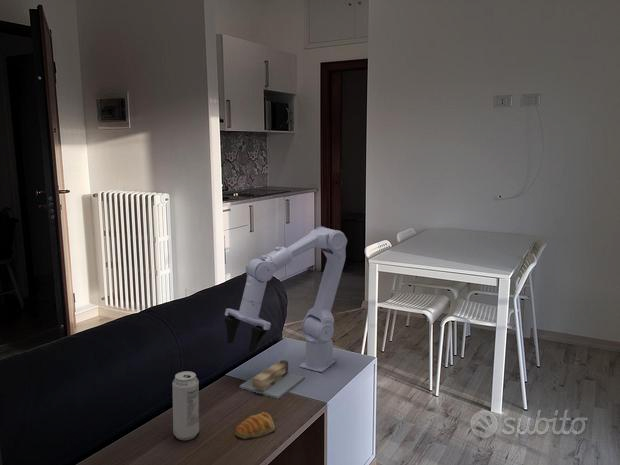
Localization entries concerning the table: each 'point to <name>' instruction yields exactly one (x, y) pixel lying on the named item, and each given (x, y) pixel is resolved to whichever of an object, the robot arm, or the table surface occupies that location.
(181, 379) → the energy drink can
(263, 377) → the bar
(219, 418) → the table surface
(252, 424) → the pastry
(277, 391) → the label board
